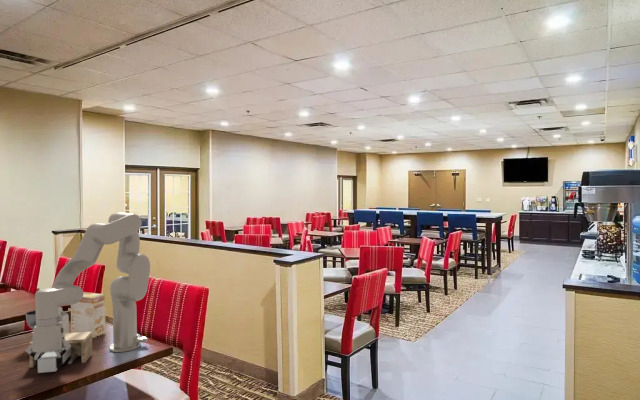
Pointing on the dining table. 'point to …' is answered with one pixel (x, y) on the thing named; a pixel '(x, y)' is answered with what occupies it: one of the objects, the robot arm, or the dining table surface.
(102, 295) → the coffeecake box
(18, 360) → the dining table surface
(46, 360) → the white rectangular block
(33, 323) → the wine glass
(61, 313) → the milk carton
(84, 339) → the beige wooden bench
